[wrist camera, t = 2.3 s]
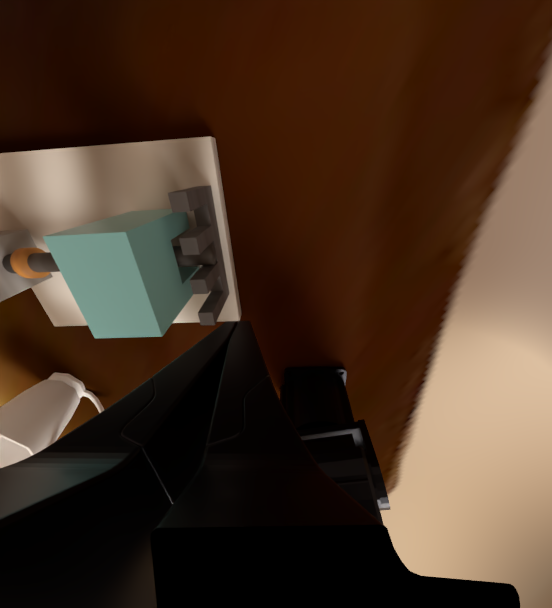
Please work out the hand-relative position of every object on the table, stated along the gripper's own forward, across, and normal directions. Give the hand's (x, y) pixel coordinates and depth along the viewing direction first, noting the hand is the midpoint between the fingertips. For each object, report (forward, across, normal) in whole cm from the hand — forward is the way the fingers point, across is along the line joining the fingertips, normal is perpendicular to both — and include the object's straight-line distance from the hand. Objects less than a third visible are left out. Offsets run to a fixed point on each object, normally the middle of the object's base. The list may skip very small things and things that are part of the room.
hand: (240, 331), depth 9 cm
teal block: (+11, +8, 0) cm, 13 cm away
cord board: (+13, +12, 0) cm, 18 cm away
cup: (+13, +24, +17) cm, 32 cm away
